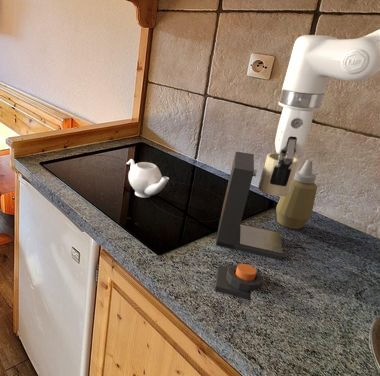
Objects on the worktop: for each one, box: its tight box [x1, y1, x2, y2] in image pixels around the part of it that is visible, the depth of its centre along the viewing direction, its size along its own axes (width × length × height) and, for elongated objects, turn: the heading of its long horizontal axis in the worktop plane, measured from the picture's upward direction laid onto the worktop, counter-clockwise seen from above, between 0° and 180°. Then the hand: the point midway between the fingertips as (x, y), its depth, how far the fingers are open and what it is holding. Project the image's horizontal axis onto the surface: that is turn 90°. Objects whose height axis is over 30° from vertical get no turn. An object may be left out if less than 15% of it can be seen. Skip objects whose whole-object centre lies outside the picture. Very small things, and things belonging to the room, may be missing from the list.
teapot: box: [125, 158, 170, 199], centre depth 119 cm, size 10×20×9 cm, turn 21°
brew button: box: [235, 263, 258, 281], centre depth 81 cm, size 4×4×2 cm
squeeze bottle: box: [275, 159, 318, 230], centre depth 103 cm, size 8×8×18 cm
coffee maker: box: [215, 151, 284, 261], centre depth 95 cm, size 14×12×20 cm
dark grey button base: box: [214, 264, 271, 301], centre depth 82 cm, size 10×8×3 cm
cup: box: [258, 152, 300, 197], centre depth 90 cm, size 6×6×8 cm
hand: (277, 178), depth 91 cm, fingers closed on cup, 6 cm apart
